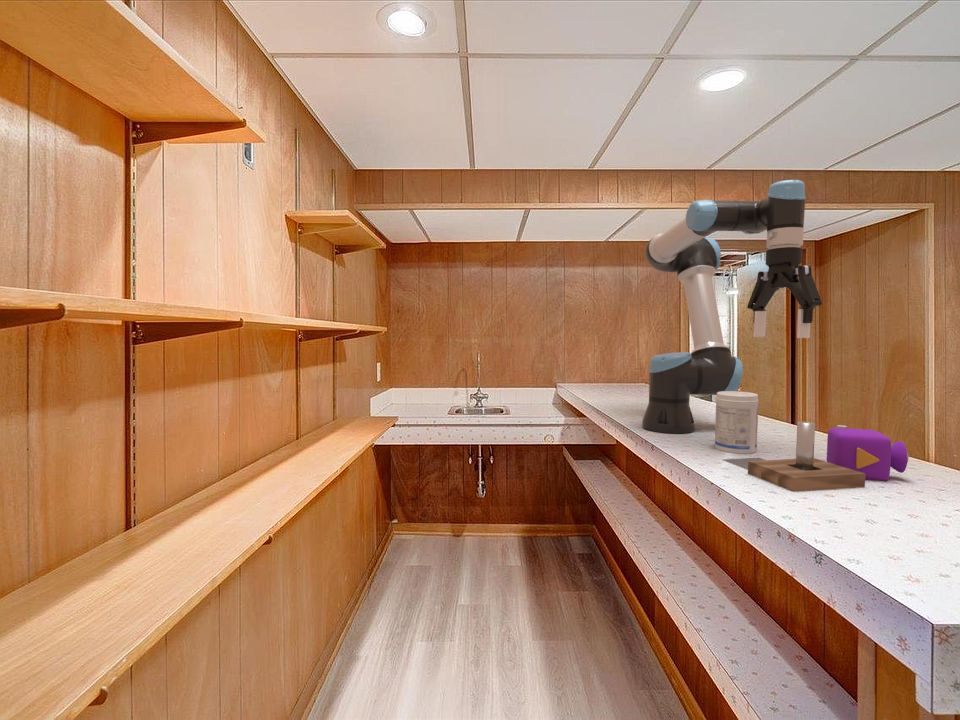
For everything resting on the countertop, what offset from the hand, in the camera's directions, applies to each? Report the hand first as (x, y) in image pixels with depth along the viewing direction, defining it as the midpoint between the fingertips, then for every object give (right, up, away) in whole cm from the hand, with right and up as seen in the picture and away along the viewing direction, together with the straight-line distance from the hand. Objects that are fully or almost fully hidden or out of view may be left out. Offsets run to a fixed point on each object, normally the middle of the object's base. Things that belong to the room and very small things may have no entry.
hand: (780, 337), depth 122 cm
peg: (-7, -30, -20) cm, 37 cm away
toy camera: (+9, -30, -16) cm, 35 cm away
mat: (-10, -29, -9) cm, 32 cm away
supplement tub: (-8, -29, +6) cm, 30 cm away
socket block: (-7, -30, -20) cm, 37 cm away
